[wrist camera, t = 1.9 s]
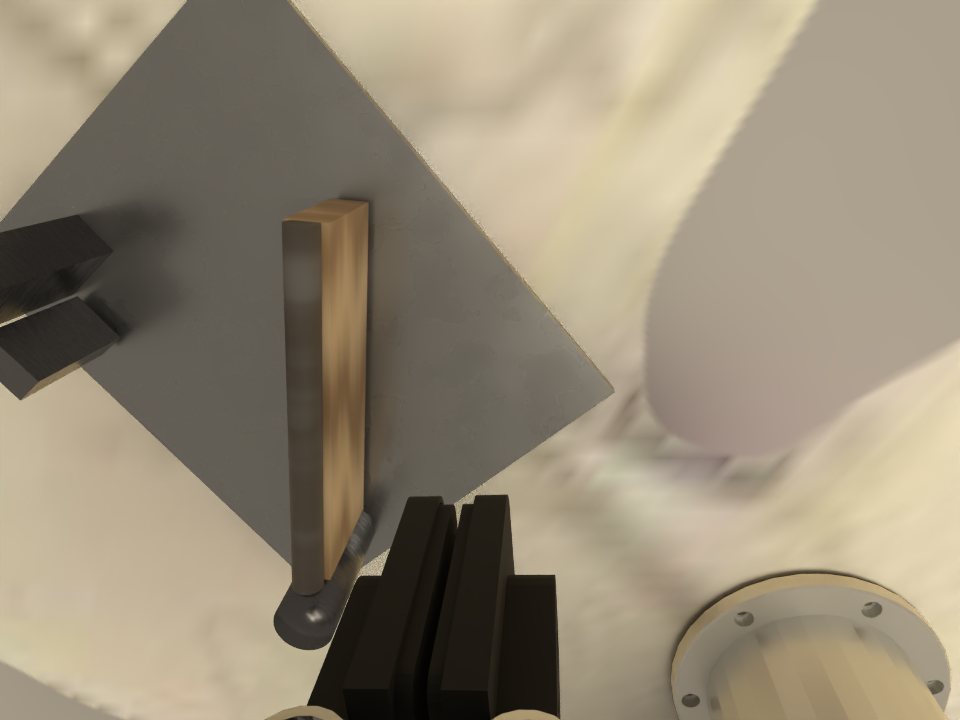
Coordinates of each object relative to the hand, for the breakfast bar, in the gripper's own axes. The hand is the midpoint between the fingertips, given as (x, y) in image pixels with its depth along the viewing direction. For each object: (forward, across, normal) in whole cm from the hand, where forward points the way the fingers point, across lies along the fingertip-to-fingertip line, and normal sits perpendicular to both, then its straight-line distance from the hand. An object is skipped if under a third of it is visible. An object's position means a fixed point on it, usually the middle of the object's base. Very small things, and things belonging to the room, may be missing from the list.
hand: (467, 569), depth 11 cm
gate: (+17, +7, +3) cm, 18 cm away
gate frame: (+18, +10, +1) cm, 20 cm away
